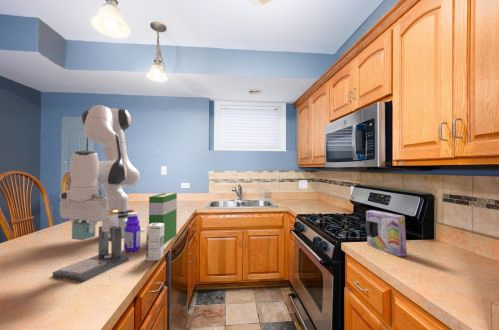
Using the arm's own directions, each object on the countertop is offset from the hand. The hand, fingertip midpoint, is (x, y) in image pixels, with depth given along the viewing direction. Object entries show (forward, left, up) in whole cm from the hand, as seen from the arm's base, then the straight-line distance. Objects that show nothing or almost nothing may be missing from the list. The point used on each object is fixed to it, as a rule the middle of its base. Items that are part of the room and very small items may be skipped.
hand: (83, 231), depth 87 cm
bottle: (-24, -1, -15) cm, 28 cm away
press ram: (-11, 0, -6) cm, 13 cm away
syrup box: (-19, +16, -15) cm, 29 cm away
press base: (-4, 0, -15) cm, 15 cm away
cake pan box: (-62, +112, -15) cm, 128 cm away
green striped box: (-43, +2, -15) cm, 45 cm away
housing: (0, 0, -2) cm, 2 cm away
